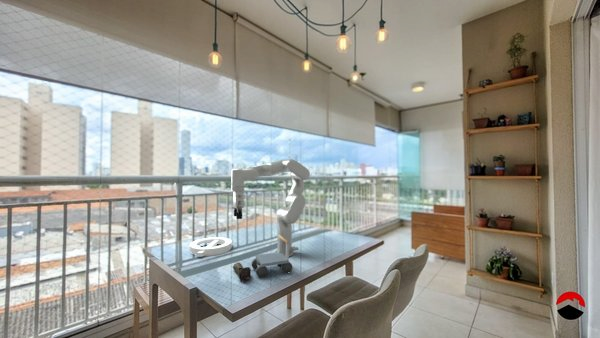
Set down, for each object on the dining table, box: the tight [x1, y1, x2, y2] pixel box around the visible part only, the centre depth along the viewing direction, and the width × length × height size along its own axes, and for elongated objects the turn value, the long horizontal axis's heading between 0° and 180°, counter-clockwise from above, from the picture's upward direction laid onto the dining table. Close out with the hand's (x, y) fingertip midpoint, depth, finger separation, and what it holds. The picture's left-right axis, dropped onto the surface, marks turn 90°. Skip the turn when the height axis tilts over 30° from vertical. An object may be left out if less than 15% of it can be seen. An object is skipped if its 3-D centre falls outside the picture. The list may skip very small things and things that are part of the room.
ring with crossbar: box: [189, 236, 233, 258], centre depth 170 cm, size 28×28×5 cm
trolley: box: [251, 235, 293, 279], centre depth 134 cm, size 20×14×18 cm
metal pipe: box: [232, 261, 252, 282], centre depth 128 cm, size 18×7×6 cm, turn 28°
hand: (237, 217), depth 144 cm, fingers open, 9 cm apart
